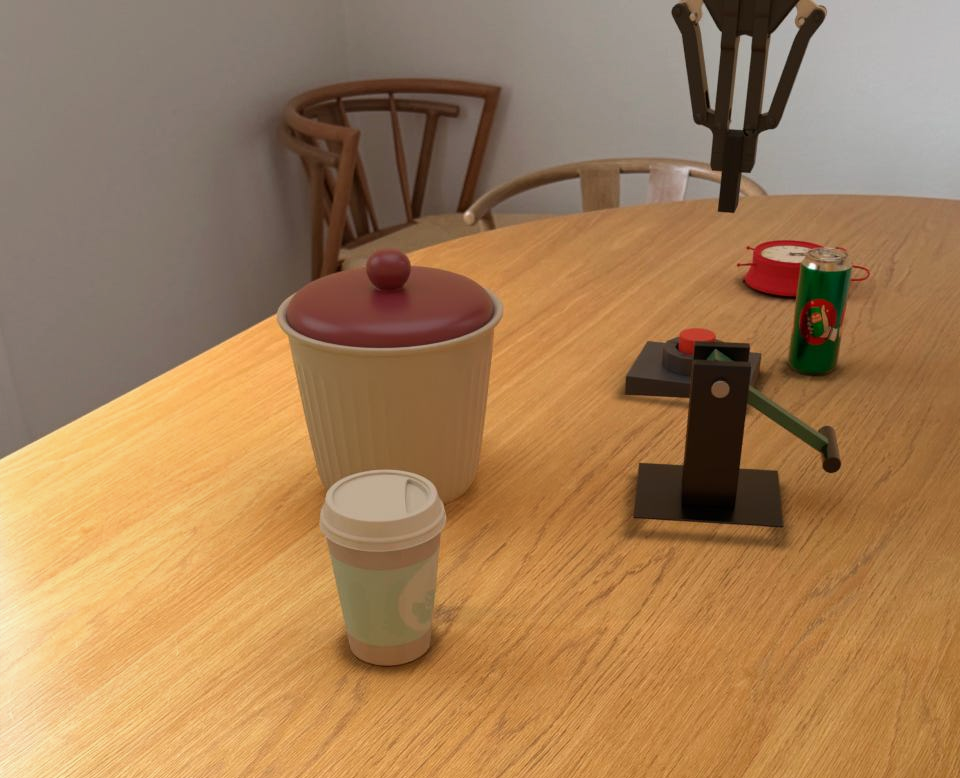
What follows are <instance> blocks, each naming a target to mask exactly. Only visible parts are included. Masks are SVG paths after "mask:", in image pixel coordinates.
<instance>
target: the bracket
mask: <svg viewBox="0 0 960 778" xmlns="http://www.w3.org/2000/svg"><path fill="white" fill-rule="evenodd" d="M715 349H717V350H718V351H720V352H721V353H723V354H724V355H725V356H727V357H728V358H730V359H731V360H733V361H716V360H707V358H708V357H709V356H710V355H711V353H712V352H713V351H714V350H715ZM750 352H751V343H749V342H732V341H731V342H729V341H723V342H710V341H694V351H693V362H692V373H691V385H690V396H689V398H688V409H687V419H686V431H685V443H684V454H683V464H670V463H669V464H668V463H651V462H639V463H638V470H637V479H636V480H637V481H636V490H635V499H634V509H633V519H640V520H641V519H643V520H656V521H657V520H658V521H672V522H690V523H705V524H720V525H721V524H722V525H735V526H736V525H737V526H751V527H752V526H753V527H767V528H768V527H769V528H784V520H783V519H784V518H783V510H782V499H781V490H780V489H781V488H780V478H779V471H778V470H775V469H773V470H772V469H756V468H755V469H754V468H741V460H742V452H743V451H742V450H743V442H744V436H745V435H744V433H745V425H746V416H747V409H748V403H747V401H748V393H749V384H750V376H751V362H749V353H750Z"/></svg>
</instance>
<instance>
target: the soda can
mask: <svg viewBox="0 0 960 778" xmlns="http://www.w3.org/2000/svg"><path fill="white" fill-rule="evenodd" d="M835 248H836V247H825V248H814V249H810V250H808V251H807V252H806V257H805V258H804V259H803V260H802V262H801V265H800V273H799V280H798V288H797V295H796V296H795V303H794V311H793V318H792V325H791V334H790V341H789V348H788V355H787V363H788V365H789V367H790V368H791V370H793V371H794V372H796V373H799V374H801V375H807V376H823V375H827V374H830V373H831V372H833V371H834V370H835V369H836V368H837V366H838V362H839V356H840V355H839V354H840V351H841V350H840V349H841V344H842V343H841V342H842V338H843V337H842V336H843V330H844V324H845V318H846V311H847V305H848V298H849V291H850V286H851V281H850V280H851V279H852V274H853V266H852V265H853V263H852V261H851V254H850V253H849V252H848V251H847V252H846V251H843V250H840V249H835ZM851 263H852V264H851Z"/></svg>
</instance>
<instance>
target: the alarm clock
mask: <svg viewBox="0 0 960 778" xmlns="http://www.w3.org/2000/svg"><path fill="white" fill-rule="evenodd" d="M814 248H826V247H825V246H823V245H820V244H818V243H813V242H809V241H804V240H794V239H793V240H792V239H780V240H779V239H777V240H769V241H765V242H762V243H759V244H757V245H756V246H755V247H751V246H750V245H747V246H746V250H748V251H749V250H751V251H753V252H752V261H751V262H747V263H740V262H738V263H737V264H736V266H737V267H738V268H740V267H749V266H750V267H749V269H748V270H747V272H746V274H745V276H743V277H742V278H741V279H742V282H743V281H744V280H745V283H746V285H748V287H750V288H752V289H754V290H756V291H759V292H763V293H766V294H770V295H776V296H783V297H785V296H786V297H796V295H797V288H798V280H799V273H800V265H801V262H802V260H803V259H804V258H805V257H806V252H807V251H808V250H810V249H814ZM834 248H835V249H840V250H843V251H846V252H848V250H847V249H846V248H845V247H841V246H836V247H834ZM851 264H852V266H853V267H852V269H859V270H863V271H865V272H866V273H867V275H866V276H865V277H862V278H851V280H850V282H861V281H865V280H868V279H869V278H870V275H871V272H870V270H869V269H868V268H867V267H864V266H860V265H854V264H853V263H852V262H851Z"/></svg>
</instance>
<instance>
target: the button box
mask: <svg viewBox="0 0 960 778" xmlns="http://www.w3.org/2000/svg"><path fill="white" fill-rule="evenodd" d="M715 342H724V341H723V340H720V339H717V338H716V340H715ZM678 347H679V336H676V337H673V338H671V339H668V340H666V341H665V342H662V341H661V342H660V341H652V340H647V341H646V343H645V344H644V346H643V348H642V349H641V350H640V352H639V353H638V356H637V357H636V359H635V360H634V362H633V364H632V366H631V367H630V369H629V370H628V372H627V373H626V375H625V387H624V395H625V396H637V397H638V396H640V397H660V398H681V399H689V396H690V385H691V373H692V362H693V355H690V354H685V353H682V352H680V351H679V350H678ZM749 362H751V376H750V384H749V385H750V386H752V387H753V388H755V385H756V382H757V380H758V377H759V375H760V370H761V363H762V353H761V352H753V351H750V353H749Z"/></svg>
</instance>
